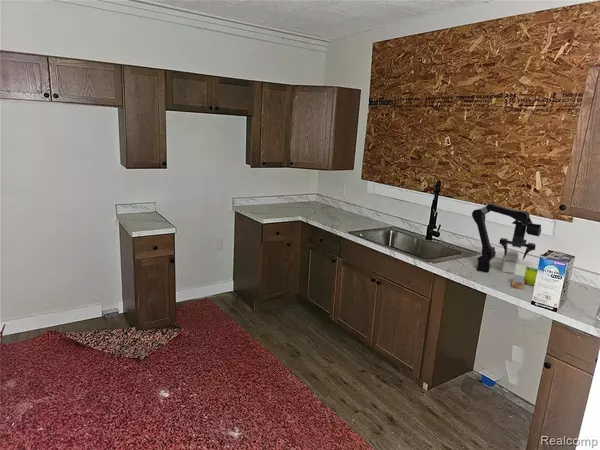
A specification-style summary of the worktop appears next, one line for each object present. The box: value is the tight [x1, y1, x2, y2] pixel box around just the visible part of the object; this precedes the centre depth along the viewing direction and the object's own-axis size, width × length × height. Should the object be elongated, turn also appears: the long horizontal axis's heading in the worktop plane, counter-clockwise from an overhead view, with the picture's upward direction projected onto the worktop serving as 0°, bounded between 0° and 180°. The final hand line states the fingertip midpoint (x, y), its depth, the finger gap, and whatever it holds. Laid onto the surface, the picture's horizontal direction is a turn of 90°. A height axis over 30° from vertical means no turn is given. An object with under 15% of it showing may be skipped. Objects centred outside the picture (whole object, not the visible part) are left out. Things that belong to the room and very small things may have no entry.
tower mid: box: [512, 274, 525, 283], centre depth 229 cm, size 5×5×4 cm
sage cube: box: [514, 263, 527, 276], centre depth 228 cm, size 5×5×5 cm
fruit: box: [524, 266, 539, 286], centre depth 235 cm, size 9×9×10 cm
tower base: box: [511, 277, 526, 291], centre depth 230 cm, size 6×6×4 cm
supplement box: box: [500, 249, 519, 274], centre depth 257 cm, size 7×7×13 cm
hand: (514, 257), depth 242 cm, fingers open, 9 cm apart
